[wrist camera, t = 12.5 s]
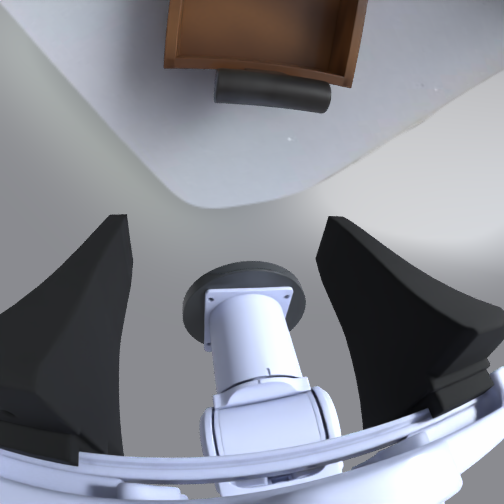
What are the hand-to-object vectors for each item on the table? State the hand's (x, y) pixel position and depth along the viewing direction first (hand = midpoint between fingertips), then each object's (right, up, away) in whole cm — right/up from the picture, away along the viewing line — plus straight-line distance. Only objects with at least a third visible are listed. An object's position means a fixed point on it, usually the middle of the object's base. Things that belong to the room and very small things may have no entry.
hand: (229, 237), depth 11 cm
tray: (+1, +14, +2) cm, 14 cm away
